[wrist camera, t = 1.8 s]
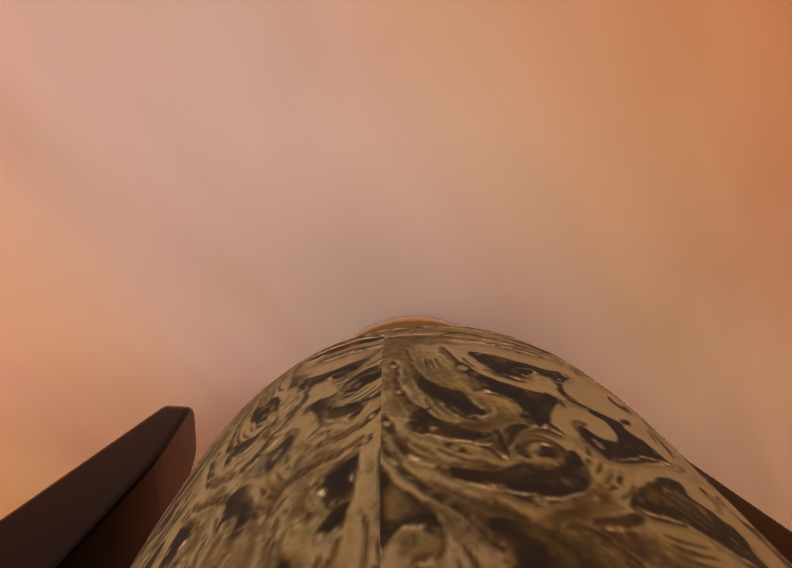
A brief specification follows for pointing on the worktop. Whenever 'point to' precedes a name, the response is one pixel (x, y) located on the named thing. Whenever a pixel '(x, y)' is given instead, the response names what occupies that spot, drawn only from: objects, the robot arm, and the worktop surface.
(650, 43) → the worktop surface
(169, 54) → the worktop surface
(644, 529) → the cup
